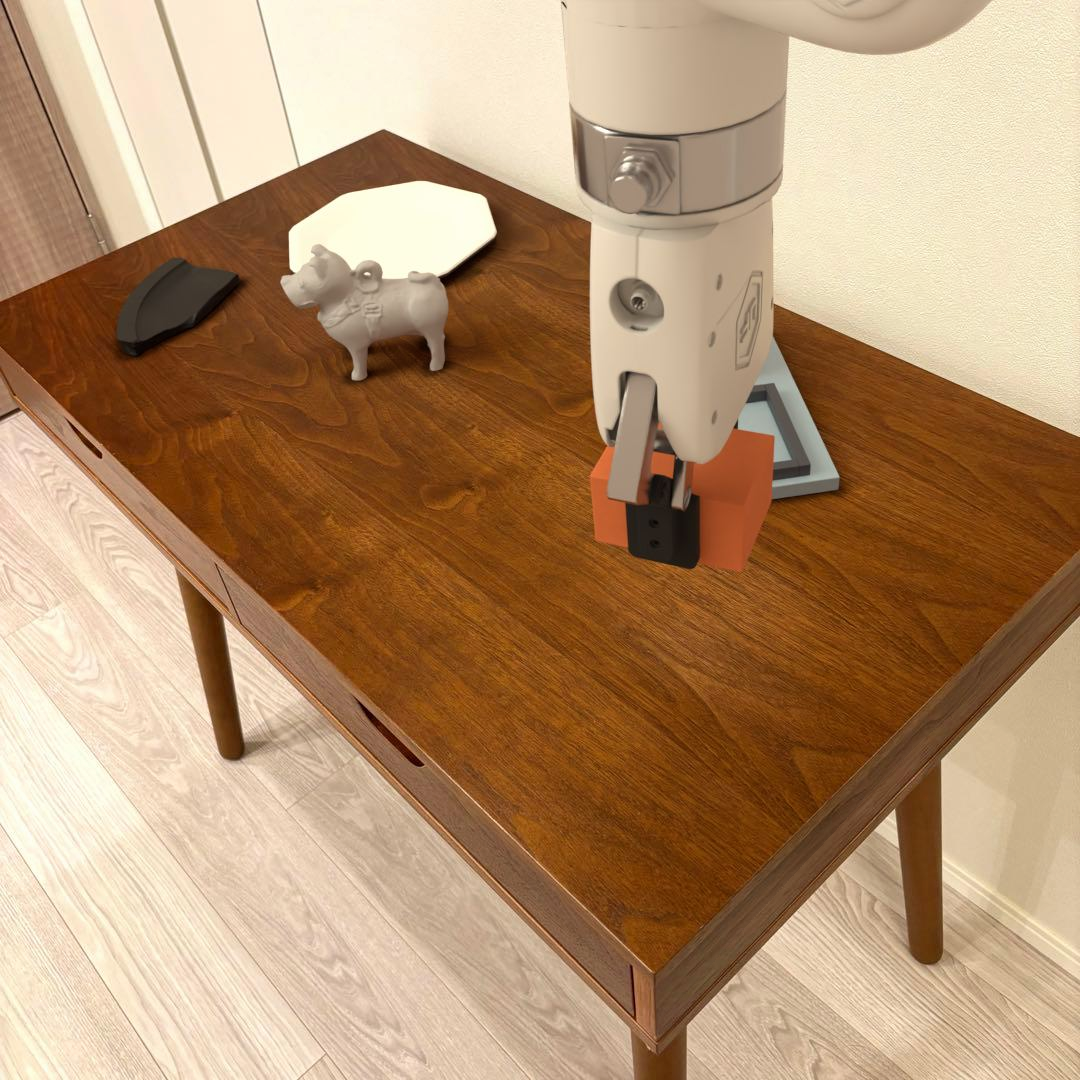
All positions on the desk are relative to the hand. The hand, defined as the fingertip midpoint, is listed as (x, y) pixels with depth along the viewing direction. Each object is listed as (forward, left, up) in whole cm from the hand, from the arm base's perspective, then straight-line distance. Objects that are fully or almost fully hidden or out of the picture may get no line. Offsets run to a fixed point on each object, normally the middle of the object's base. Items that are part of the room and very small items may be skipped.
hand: (684, 514), depth 53 cm
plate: (+16, -63, -18) cm, 67 cm away
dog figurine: (+17, -43, -18) cm, 49 cm away
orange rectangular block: (0, 0, 0) cm, 0 cm away
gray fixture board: (-8, -29, -17) cm, 35 cm away
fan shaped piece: (+37, -57, -18) cm, 70 cm away
